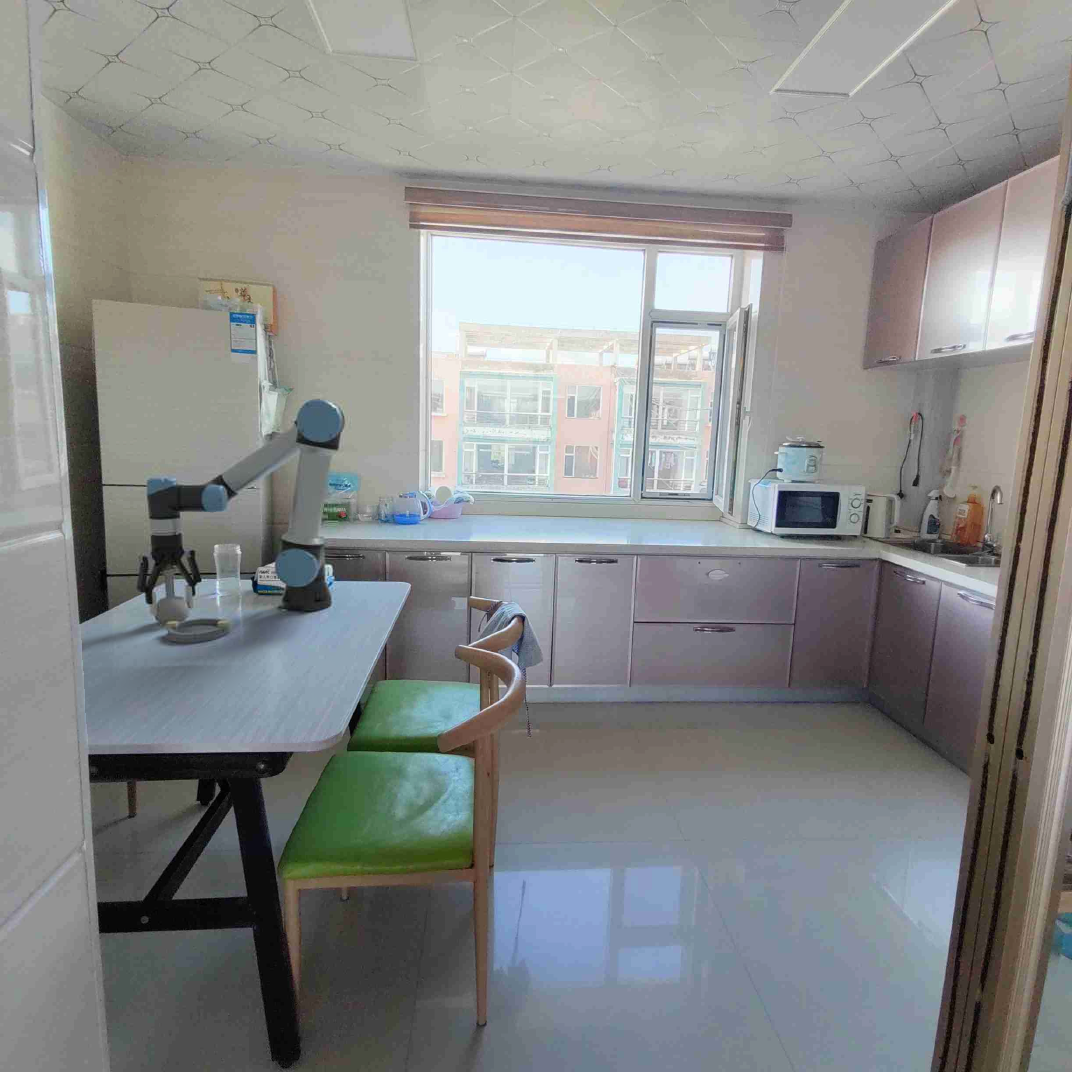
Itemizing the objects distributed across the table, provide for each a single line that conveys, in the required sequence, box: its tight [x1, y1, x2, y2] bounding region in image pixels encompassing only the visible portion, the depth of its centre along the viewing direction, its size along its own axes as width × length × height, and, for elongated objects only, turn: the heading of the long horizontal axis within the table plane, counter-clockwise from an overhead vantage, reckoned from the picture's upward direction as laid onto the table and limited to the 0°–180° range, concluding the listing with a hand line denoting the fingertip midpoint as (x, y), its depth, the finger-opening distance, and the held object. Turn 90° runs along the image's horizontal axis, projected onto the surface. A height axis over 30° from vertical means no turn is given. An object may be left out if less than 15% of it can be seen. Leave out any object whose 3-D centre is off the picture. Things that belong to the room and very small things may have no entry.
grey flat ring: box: [165, 617, 230, 644], centre depth 167 cm, size 15×15×3 cm
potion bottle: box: [153, 564, 190, 627], centre depth 174 cm, size 9×9×18 cm
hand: (172, 610), depth 175 cm, fingers closed on potion bottle, 9 cm apart
